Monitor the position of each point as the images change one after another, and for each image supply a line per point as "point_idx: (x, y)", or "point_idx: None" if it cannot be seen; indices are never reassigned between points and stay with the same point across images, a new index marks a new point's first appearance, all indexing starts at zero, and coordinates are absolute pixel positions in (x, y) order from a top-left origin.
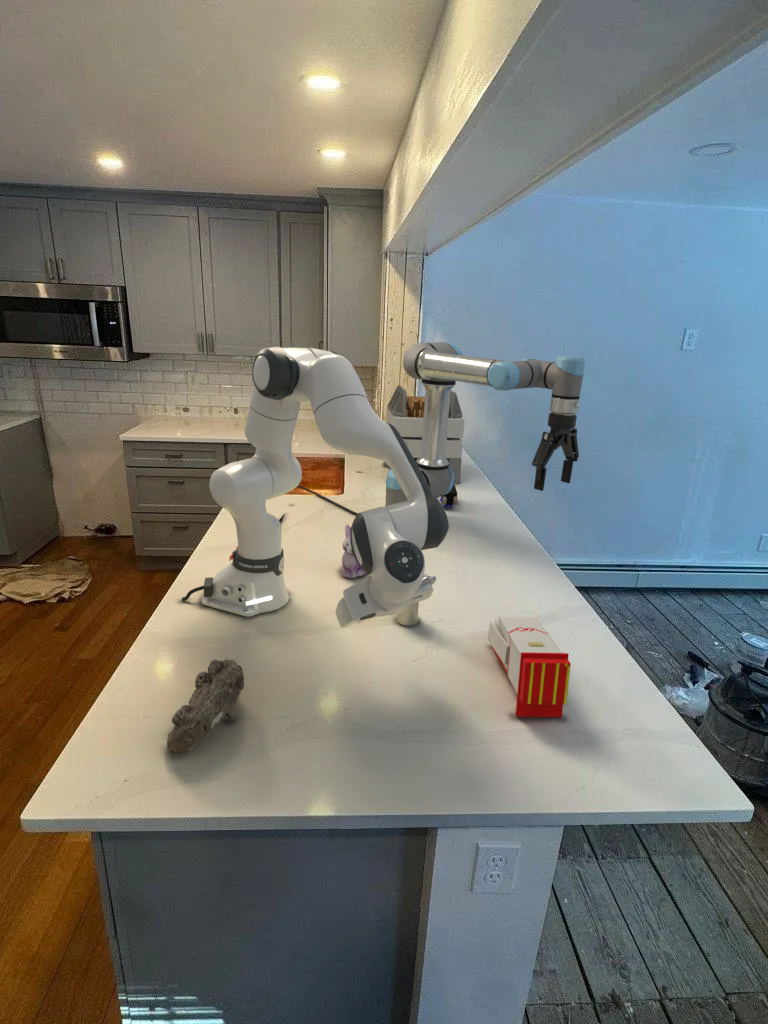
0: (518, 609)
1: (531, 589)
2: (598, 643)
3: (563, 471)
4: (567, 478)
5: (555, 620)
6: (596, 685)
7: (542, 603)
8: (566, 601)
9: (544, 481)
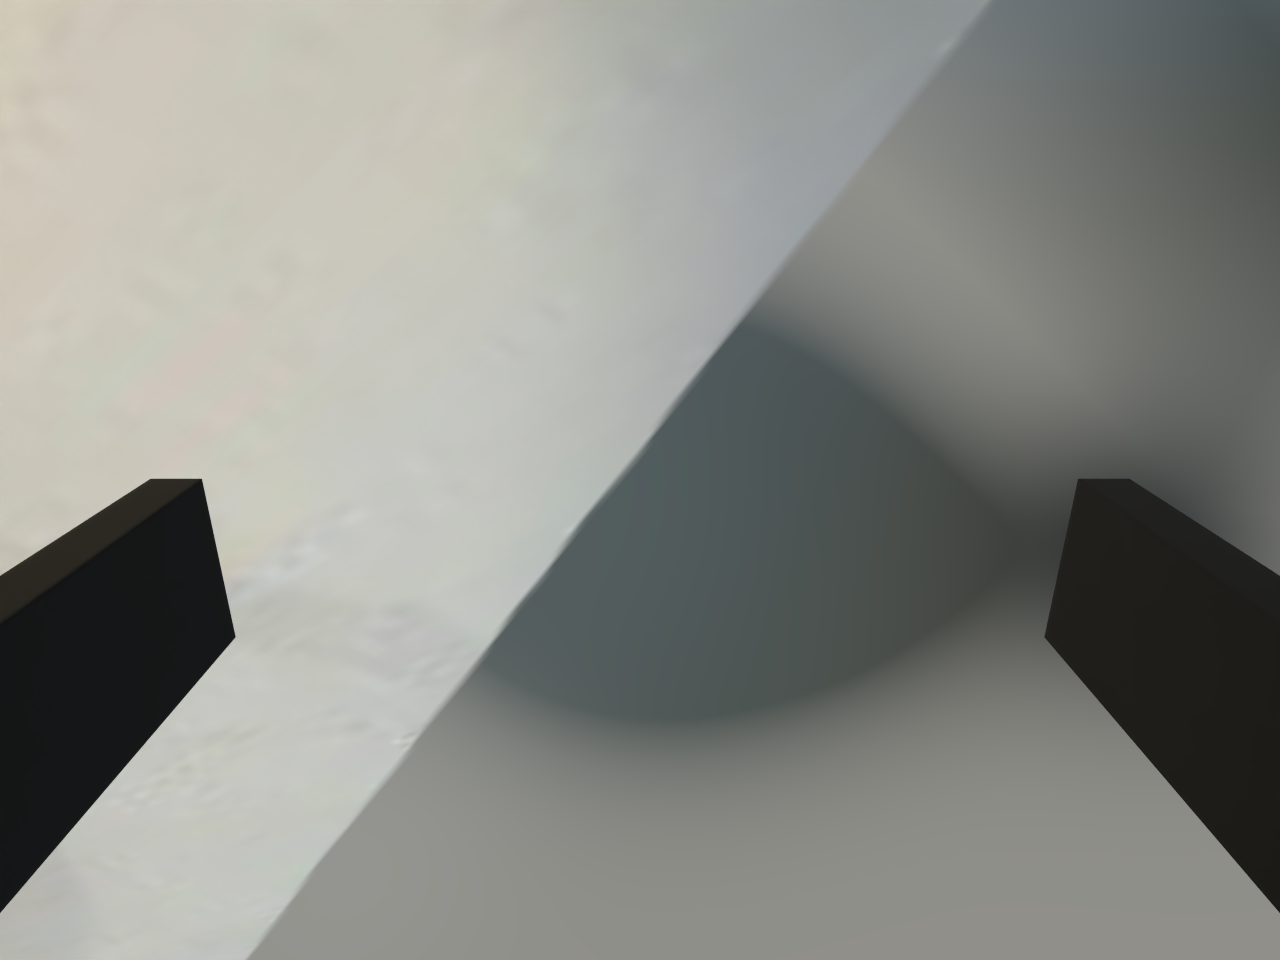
0: None
1: (409, 399)
2: (287, 820)
3: (1210, 616)
4: (1096, 654)
5: (267, 645)
6: (69, 920)
7: (338, 524)
8: (466, 581)
9: (130, 751)
